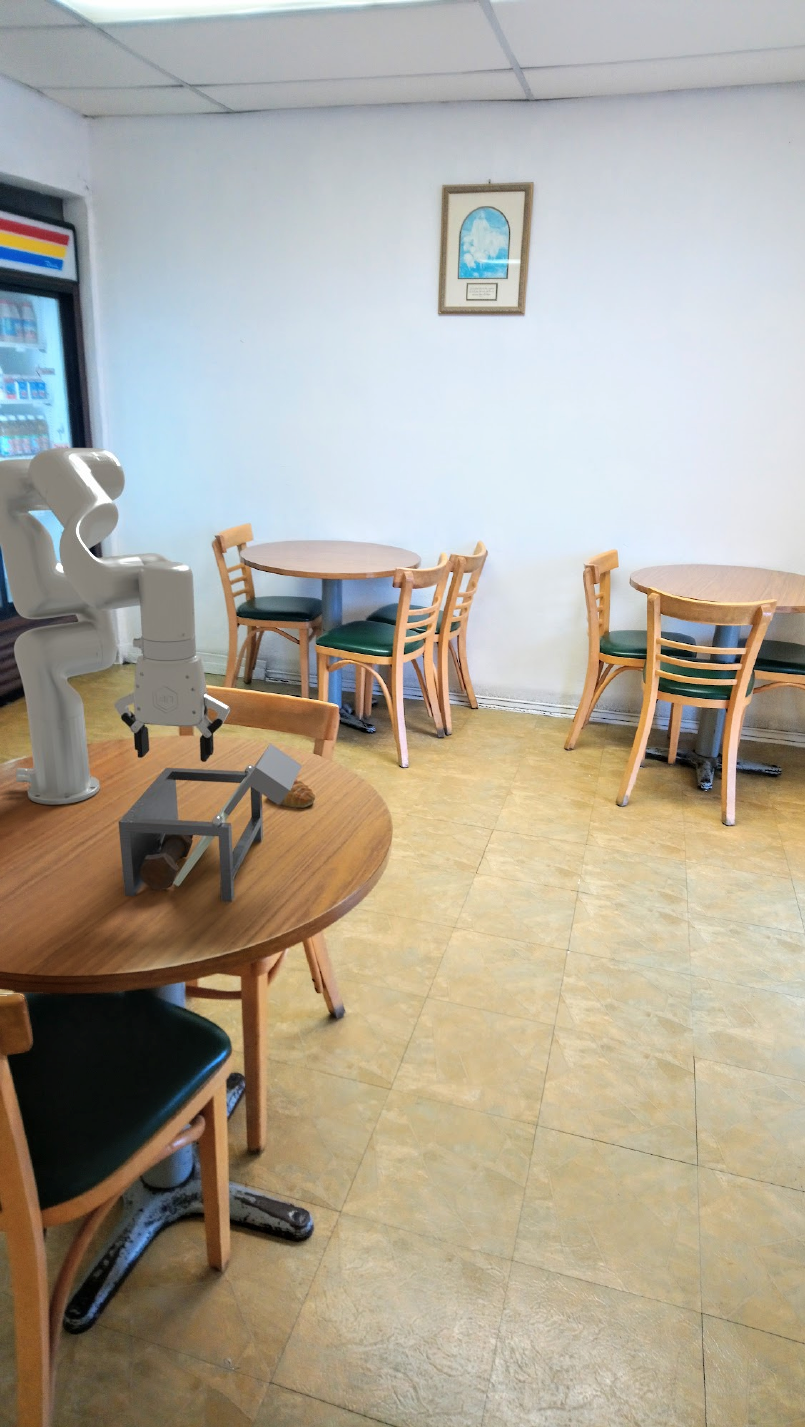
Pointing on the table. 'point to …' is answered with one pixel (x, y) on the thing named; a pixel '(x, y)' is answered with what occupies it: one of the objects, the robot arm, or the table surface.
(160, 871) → the bolt
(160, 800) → the frame
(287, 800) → the pastry
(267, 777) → the trapdoor
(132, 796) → the table surface
